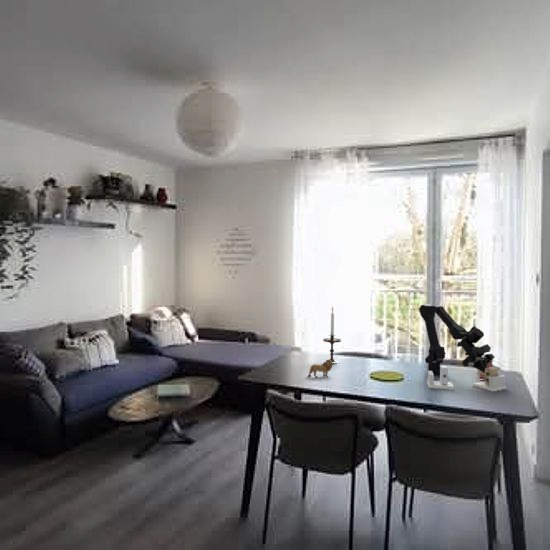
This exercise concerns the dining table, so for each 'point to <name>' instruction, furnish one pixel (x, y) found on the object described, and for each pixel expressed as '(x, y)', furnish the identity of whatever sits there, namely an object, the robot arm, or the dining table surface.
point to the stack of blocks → (482, 374)
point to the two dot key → (490, 373)
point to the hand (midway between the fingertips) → (488, 374)
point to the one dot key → (443, 374)
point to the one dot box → (437, 383)
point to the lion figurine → (321, 368)
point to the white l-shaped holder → (493, 383)
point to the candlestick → (332, 337)
